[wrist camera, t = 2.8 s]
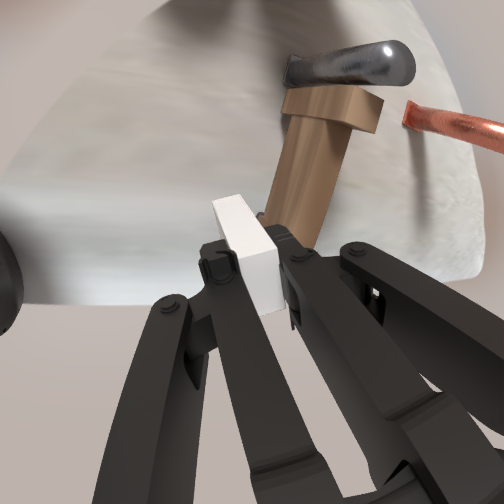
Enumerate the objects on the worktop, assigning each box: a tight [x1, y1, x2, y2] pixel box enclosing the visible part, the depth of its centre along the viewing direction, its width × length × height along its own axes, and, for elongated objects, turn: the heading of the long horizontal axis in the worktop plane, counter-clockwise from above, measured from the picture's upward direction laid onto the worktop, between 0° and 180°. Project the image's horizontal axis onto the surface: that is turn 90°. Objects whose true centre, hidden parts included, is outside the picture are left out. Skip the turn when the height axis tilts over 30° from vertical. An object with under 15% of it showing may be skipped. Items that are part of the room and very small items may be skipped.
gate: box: [256, 85, 384, 249], centre depth 21 cm, size 2×13×11 cm, turn 165°
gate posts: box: [282, 40, 504, 154], centre depth 20 cm, size 17×4×13 cm, turn 75°
